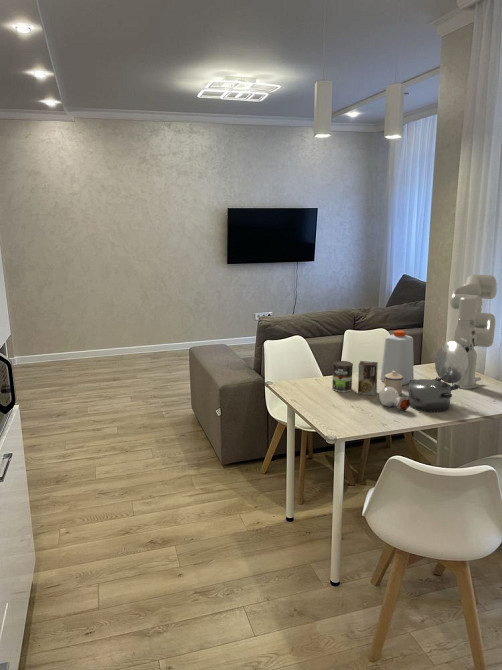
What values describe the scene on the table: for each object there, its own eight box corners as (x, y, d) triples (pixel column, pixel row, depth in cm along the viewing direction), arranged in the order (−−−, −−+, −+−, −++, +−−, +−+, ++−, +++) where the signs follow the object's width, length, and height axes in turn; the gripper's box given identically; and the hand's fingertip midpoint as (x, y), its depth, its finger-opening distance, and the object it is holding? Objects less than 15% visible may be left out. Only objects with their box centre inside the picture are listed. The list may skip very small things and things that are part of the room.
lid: (431, 376, 263) (435, 377, 264) (462, 388, 245) (466, 388, 246) (439, 337, 260) (443, 338, 261) (471, 346, 242) (475, 347, 244)
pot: (429, 394, 268) (430, 374, 266) (466, 409, 246) (468, 388, 244) (395, 400, 260) (397, 379, 258) (431, 417, 238) (433, 394, 235)
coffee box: (376, 392, 272) (378, 362, 268) (375, 396, 266) (377, 365, 262) (359, 390, 275) (360, 360, 271) (357, 394, 269) (358, 363, 265)
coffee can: (349, 393, 270) (350, 366, 267) (330, 391, 274) (330, 364, 271) (353, 387, 280) (354, 361, 277) (334, 385, 284) (335, 359, 280)
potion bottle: (381, 404, 258) (405, 417, 246) (371, 397, 252) (395, 409, 240) (390, 388, 259) (415, 400, 247) (381, 380, 252) (406, 392, 241)
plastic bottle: (391, 375, 300) (394, 327, 294) (416, 380, 290) (419, 331, 284) (377, 381, 290) (379, 331, 284) (402, 387, 279) (405, 335, 273)
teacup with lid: (405, 394, 268) (407, 372, 265) (391, 397, 264) (392, 374, 262) (391, 387, 279) (392, 366, 276) (376, 390, 275) (377, 368, 273)
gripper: (484, 324, 247) (481, 362, 251) (460, 319, 260) (457, 355, 264) (472, 326, 244) (469, 364, 248) (448, 320, 257) (445, 357, 261)
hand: (463, 359), depth 256 cm, fingers closed
